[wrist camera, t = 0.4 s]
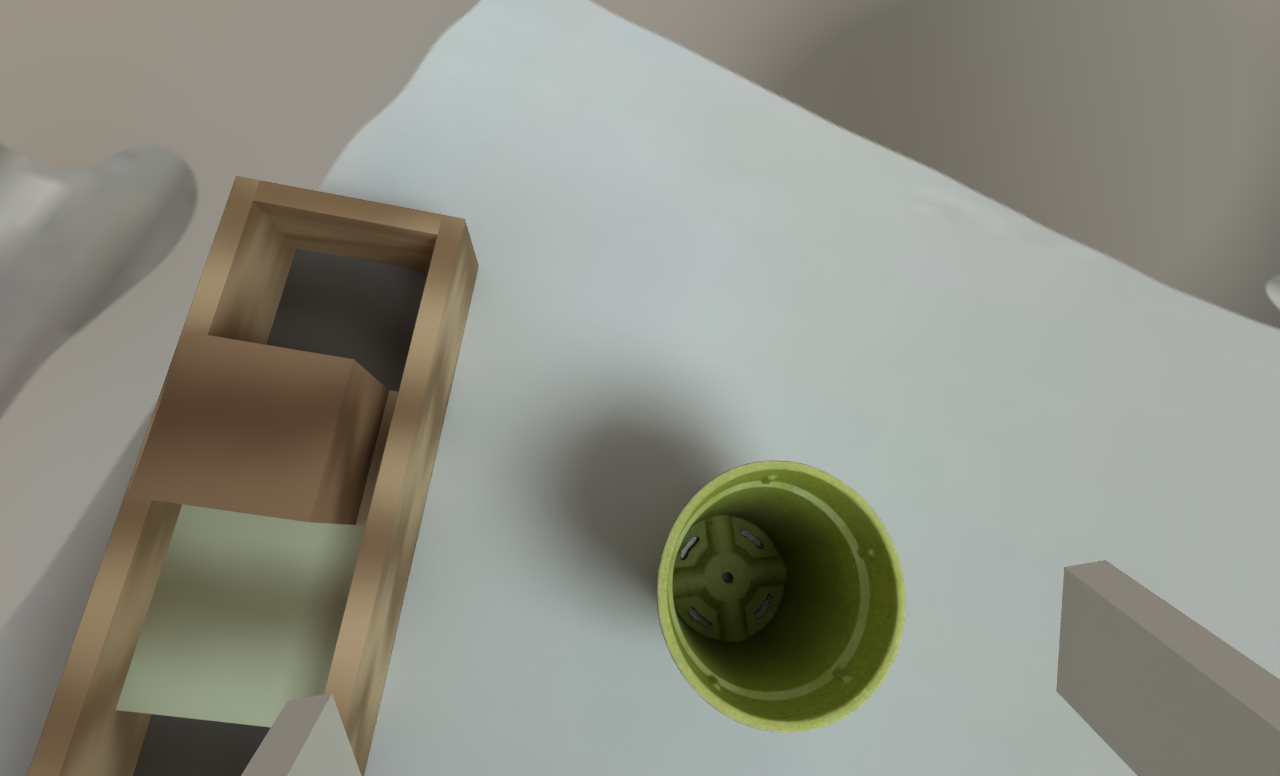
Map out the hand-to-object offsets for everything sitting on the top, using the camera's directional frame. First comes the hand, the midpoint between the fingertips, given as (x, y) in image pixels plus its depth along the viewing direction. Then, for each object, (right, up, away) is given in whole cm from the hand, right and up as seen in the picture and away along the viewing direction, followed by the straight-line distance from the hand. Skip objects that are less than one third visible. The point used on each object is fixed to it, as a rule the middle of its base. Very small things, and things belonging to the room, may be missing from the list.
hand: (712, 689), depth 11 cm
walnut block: (-16, +3, +16) cm, 23 cm away
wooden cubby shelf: (-17, -2, +18) cm, 24 cm away
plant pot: (+3, -4, +20) cm, 20 cm away
